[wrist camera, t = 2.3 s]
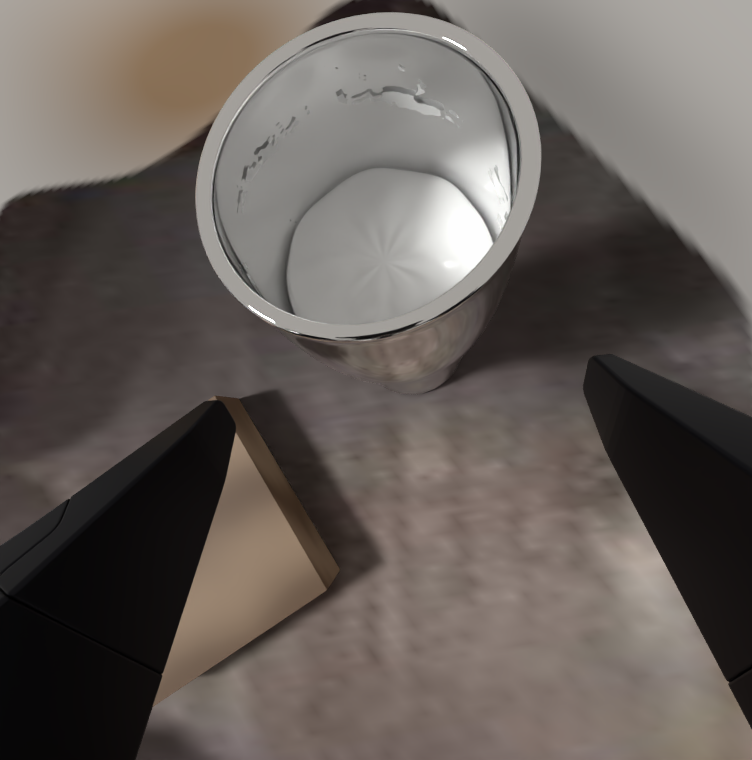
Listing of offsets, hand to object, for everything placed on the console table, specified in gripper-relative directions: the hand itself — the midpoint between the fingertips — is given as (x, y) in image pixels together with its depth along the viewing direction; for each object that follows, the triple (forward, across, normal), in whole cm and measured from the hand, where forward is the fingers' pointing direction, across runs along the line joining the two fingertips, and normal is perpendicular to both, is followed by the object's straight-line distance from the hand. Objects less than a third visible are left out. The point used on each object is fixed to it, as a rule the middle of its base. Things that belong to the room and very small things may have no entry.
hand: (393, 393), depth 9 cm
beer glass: (+12, 0, +6) cm, 13 cm away
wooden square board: (+4, +14, +13) cm, 19 cm away
